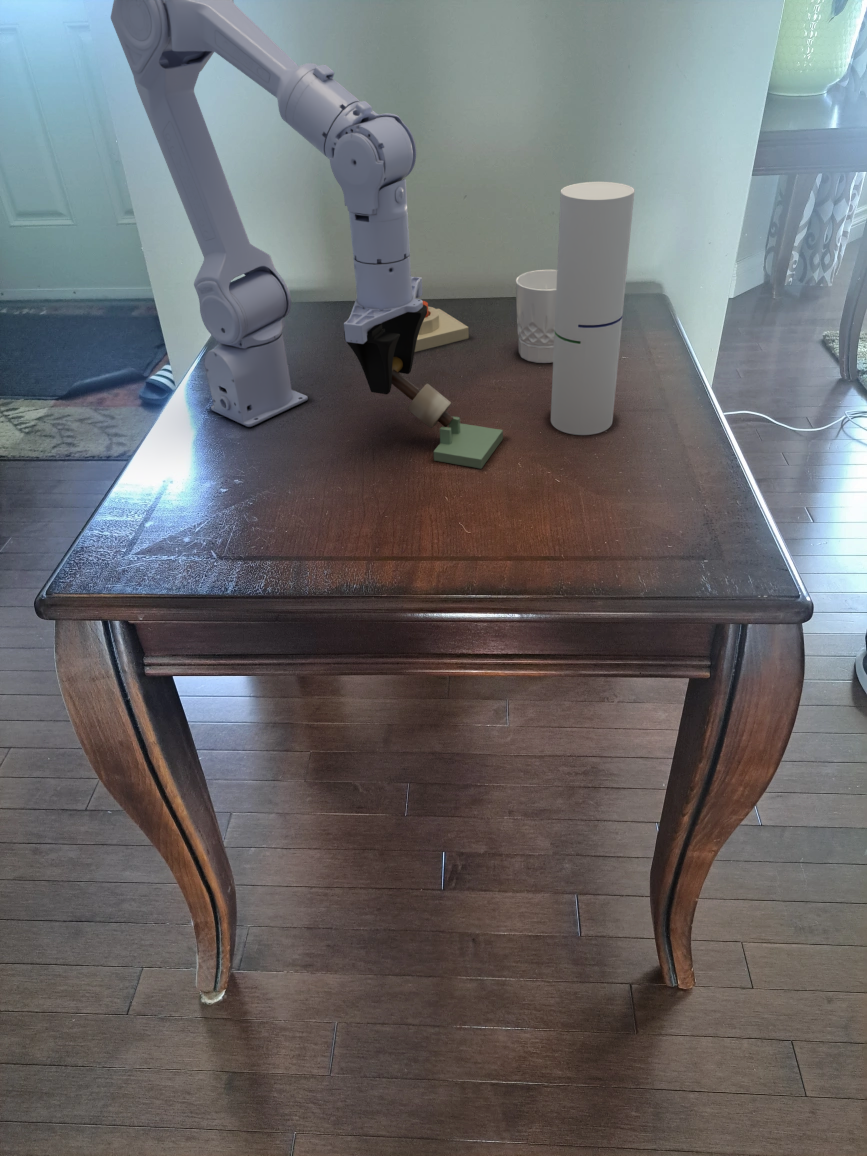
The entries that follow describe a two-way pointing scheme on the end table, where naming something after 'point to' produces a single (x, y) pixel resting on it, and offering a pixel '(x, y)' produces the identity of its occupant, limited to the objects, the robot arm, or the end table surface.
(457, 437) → the stand
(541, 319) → the white cup
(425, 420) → the t-handle lever
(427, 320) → the button box
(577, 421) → the cylindrical container
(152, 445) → the end table surface
